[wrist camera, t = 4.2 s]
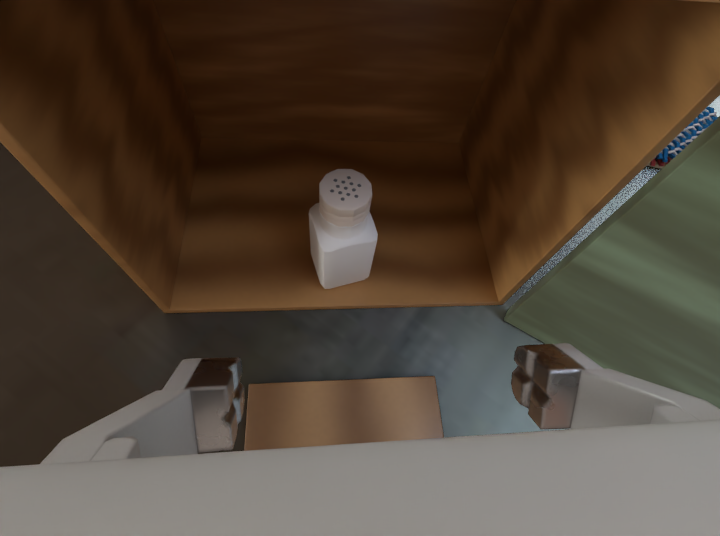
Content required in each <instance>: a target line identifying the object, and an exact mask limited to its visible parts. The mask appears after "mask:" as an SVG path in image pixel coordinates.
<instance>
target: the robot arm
mask: <svg viewBox="0 0 720 536" xmlns="http://www.w3.org/2000/svg"><path fill="white" fill-rule="evenodd" d="M514 361H515V362H516V364H517V365H518V366H517V368H516V369H515V370H514V371H513V372H512V379H511V385H512V390H513V394H514V396H515V398H516V400H517V401H518V402H519V403H520V404H521V405H523V406H525V407H527V408H528V409H529V412H528V414H529V416H530V417H531V418H532V419H533V420H534V422H535V423H536V424H537V425H538V426H539V428H540V429H567V428H570V429H567V430H552V431H537V432H522V433H507V434H492V435H477V436H462V437H447V438H431V439H416V440H401V441H386V442H371V443H355V444H340V445H325V446H310V447H295V448H279V449H264V450H249V451H234V452H219V453H204V454H198V453H202V452H213V451H224V450H233V446H234V443H235V440H236V436H237V433H238V427H237V423H239V422H240V421H241V419H242V415H243V410H244V386H243V385H242V384H241V383H240V378H241V375H242V372H243V371H242V362H241V359H240V357H237V358H204V359H203V358H194V359H183V360H182V361H181V363H180V364H179V366H178V367H177V369H176V370H175V371H174V373H173V374H172V376H171V377H170V379H169V380H168V382H167V383H166V385H165V386H164V388H163V389H162V390H160V391H154V392H152V393H150V394H149V395H147V396H145V397H143V398H141V399H139V400H137V401H135V402H133V403H131V404H129V405H127V406H126V407H124V408H122V409H120V410H118V411H116V412H114V413H112V414H110V415H108V416H106V417H104V418H102V419H101V420H99V421H97V422H95V423H93V424H91V425H89V426H87V427H85V428H83V429H81V430H79V431H78V432H76V433H74V434H72V435H70V436H68V437H66V438H64V439H62V440H61V442H60V443H59V444H58V445H57V446H56V447H55V448H54V449H53V450H52V451H51V453H50V454H49V455H48V456H47V457H46V458H45V459H44V460H43V461H42V462H41V464H39V465H24V466H9V467H0V536H720V409H719V408H717V407H716V406H714V405H713V404H711V403H709V402H708V401H706V400H703V399H700V398H697V397H694V396H691V395H687V394H684V393H681V392H678V391H675V390H672V389H669V388H666V387H663V386H660V385H657V384H654V383H651V382H648V381H645V380H642V379H639V378H636V377H633V376H630V375H627V374H624V373H621V372H618V371H615V370H612V369H609V368H607V369H603V368H602V367H601V366H599V365H598V364H597V363H595V362H594V361H593V360H591V359H590V358H588V357H587V356H586V355H584V354H583V353H582V352H580V351H579V350H577V349H576V348H575V347H573V346H572V345H571V344H568V343H558V344H540V345H525V346H519V347H517V349H516V351H515V355H514Z"/></svg>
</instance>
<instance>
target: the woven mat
mask: <svg viewBox="0 0 720 536" xmlns="http://www.w3.org/2000/svg"><path fill="white" fill-rule="evenodd" d="M707 110H709V111H707ZM716 114H717V113H716V112H714V108H711V107H707V108H706V109H705V110H704V111H703V112H702V113H700V114H699V115H698V116H697V117H696V118H695V119H694V120H693V121H692V122H691V123H690V124H689V125H688V126H687V127H686V128H685V129H684V130H683V131H682V132H681V133H680V134H679V135H678V136H677V137H676V138H675V139H674V140H673V141H671V142H670V143H669V144H668V145H667V146H666V147H665V148H664V149H663V150H662V151H661V152H660V153H659V154H658V155H657V156H656V157H657V160H655V158H656V157H655V158H654V159H653V160H652V161H651V162H650V163H649V164H648V165H647V166H649V167H655V168H660V169H662V168H664V167H665V166H666V165H667V164H668V163H669V162H670V161H671V160H672V159H673V158H675V157H676V156H677V155H678V154H679V153H680V152H681V151H682V150H683V149H684V148H685V147H687V146H688V145H689V144H690V143H691V142H692V141H693V140H694V139H695V138H696V137H698V136H699V135H700V134H701V133H702V132H703V131H704V130H705V129H706V128H707V127H709V126H710V125H711V124H712V123H713V122H714V121H715V120H716V119H717V118H718V117H717V116H716Z"/></svg>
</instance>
